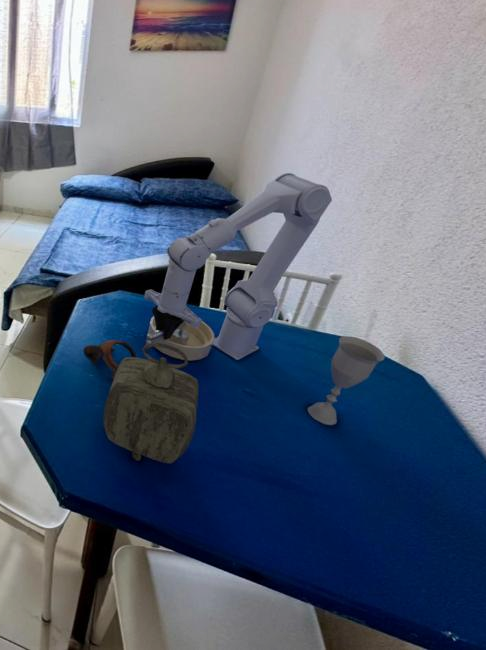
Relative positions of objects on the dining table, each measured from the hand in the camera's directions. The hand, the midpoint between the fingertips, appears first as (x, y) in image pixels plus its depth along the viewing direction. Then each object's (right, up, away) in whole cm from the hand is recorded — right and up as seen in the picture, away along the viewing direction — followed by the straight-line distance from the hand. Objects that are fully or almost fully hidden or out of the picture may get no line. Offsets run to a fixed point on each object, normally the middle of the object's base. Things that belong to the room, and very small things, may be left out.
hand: (163, 335), depth 100 cm
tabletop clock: (-14, -18, -23) cm, 33 cm away
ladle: (+1, -3, +3) cm, 4 cm away
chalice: (+28, -14, -14) cm, 34 cm away
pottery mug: (-15, -7, -3) cm, 17 cm away
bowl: (+6, -3, +6) cm, 8 cm away
